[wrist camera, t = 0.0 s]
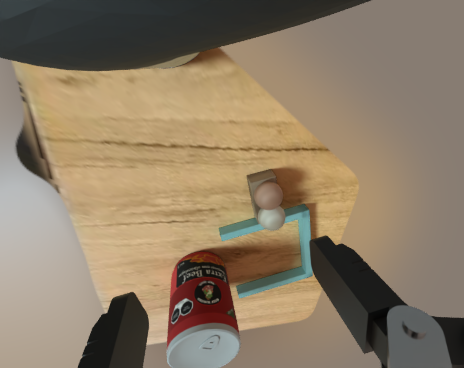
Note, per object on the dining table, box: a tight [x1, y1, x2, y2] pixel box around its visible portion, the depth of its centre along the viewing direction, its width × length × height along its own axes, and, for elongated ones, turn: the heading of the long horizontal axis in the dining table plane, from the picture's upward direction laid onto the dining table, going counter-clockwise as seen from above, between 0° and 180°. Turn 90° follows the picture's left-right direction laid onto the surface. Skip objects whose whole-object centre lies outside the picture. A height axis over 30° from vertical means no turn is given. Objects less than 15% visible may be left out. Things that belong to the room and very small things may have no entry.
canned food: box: [167, 252, 241, 368], centre depth 28 cm, size 8×8×11 cm
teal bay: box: [219, 204, 313, 298], centre depth 33 cm, size 13×12×2 cm
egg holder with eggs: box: [247, 169, 286, 231], centre depth 27 cm, size 6×3×5 cm, turn 12°
